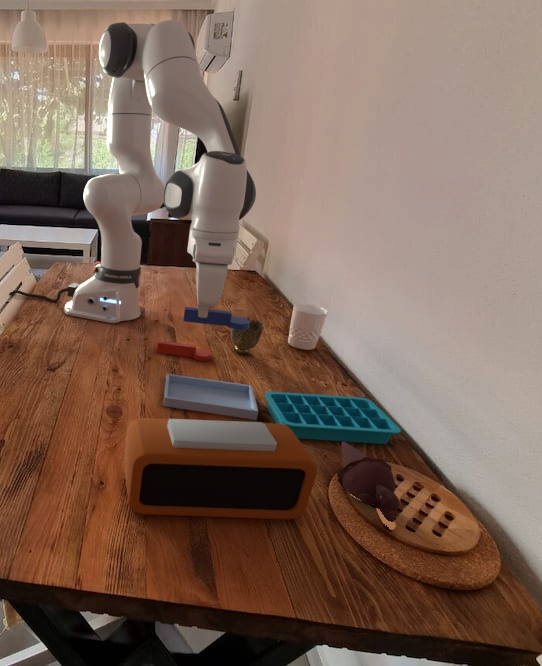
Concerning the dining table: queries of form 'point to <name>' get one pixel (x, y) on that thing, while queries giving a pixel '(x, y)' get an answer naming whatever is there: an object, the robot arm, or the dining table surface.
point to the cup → (246, 337)
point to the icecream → (369, 481)
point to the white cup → (306, 326)
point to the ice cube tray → (331, 417)
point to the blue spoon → (216, 318)
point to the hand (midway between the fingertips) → (202, 314)
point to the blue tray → (210, 396)
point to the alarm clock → (216, 469)
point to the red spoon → (183, 350)
